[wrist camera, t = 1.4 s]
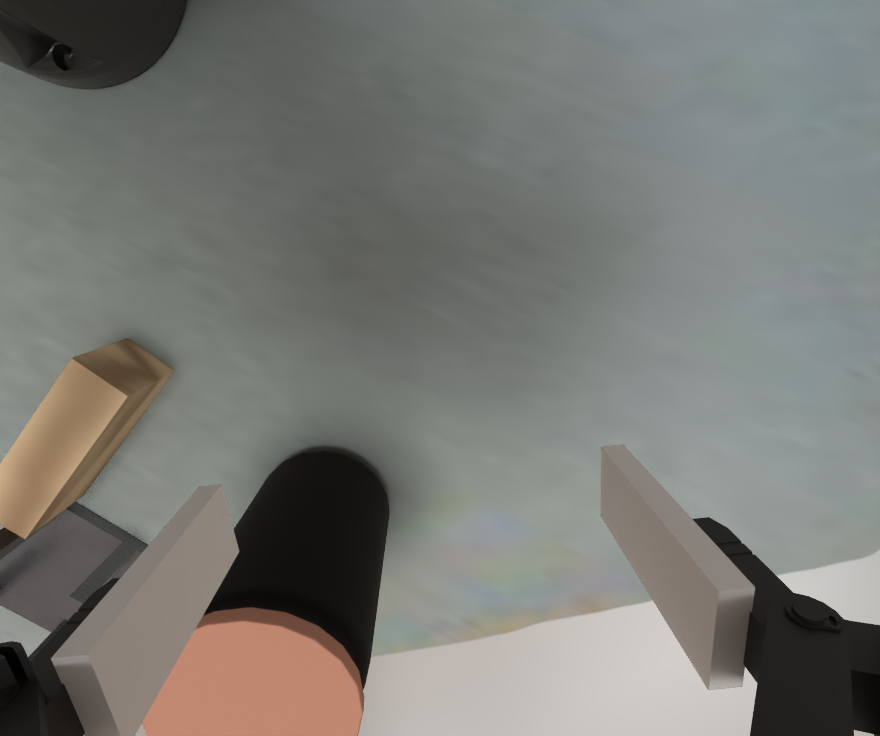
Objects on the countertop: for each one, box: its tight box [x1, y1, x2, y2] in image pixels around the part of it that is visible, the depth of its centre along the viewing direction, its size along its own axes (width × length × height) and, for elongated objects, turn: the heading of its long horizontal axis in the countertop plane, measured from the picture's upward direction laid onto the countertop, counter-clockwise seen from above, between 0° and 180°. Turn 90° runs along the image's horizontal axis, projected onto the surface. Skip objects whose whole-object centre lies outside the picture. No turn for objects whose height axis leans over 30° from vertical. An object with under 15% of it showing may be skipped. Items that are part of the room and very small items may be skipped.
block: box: [0, 339, 174, 539], centre depth 34 cm, size 4×14×6 cm, turn 139°
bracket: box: [0, 502, 148, 662], centre depth 37 cm, size 9×12×7 cm
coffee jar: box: [142, 451, 389, 736], centre depth 31 cm, size 11×11×18 cm
